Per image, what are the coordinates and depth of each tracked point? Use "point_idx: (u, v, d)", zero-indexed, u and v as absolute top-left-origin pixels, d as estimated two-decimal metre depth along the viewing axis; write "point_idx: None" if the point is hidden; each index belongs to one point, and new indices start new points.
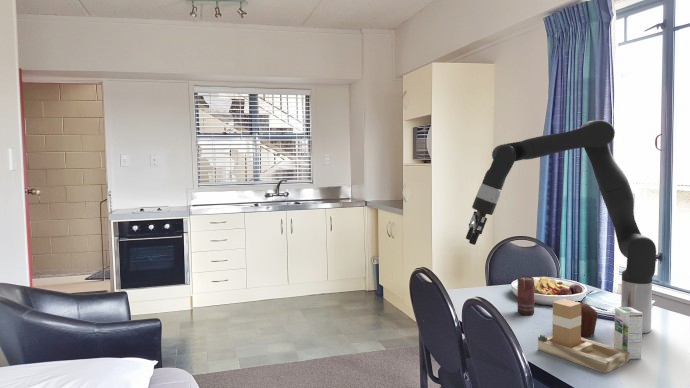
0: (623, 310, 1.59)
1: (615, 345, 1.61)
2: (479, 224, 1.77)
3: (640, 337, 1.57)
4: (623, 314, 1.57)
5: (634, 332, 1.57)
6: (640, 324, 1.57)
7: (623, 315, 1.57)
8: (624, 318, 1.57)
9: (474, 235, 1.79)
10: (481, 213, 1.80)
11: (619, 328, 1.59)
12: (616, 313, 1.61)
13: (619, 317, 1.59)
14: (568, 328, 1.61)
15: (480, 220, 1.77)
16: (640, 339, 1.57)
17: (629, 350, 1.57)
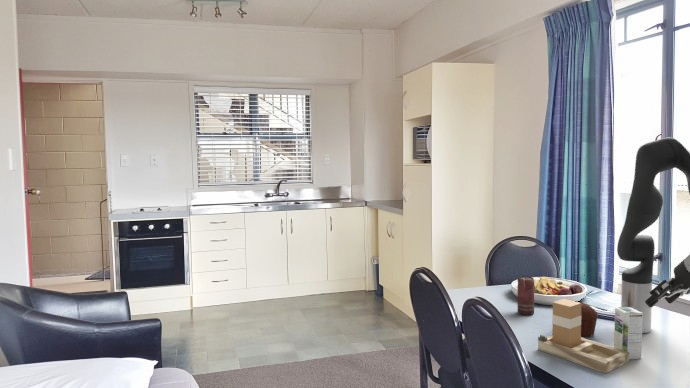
0: (623, 310, 1.59)
1: (615, 345, 1.61)
2: None
3: (640, 337, 1.57)
4: (623, 314, 1.57)
5: (634, 332, 1.57)
6: (640, 324, 1.57)
7: (623, 315, 1.57)
8: (624, 318, 1.57)
9: None
10: None
11: (619, 328, 1.59)
12: (616, 313, 1.61)
13: (619, 317, 1.59)
14: (568, 328, 1.61)
15: None
16: (640, 339, 1.57)
17: (629, 350, 1.57)
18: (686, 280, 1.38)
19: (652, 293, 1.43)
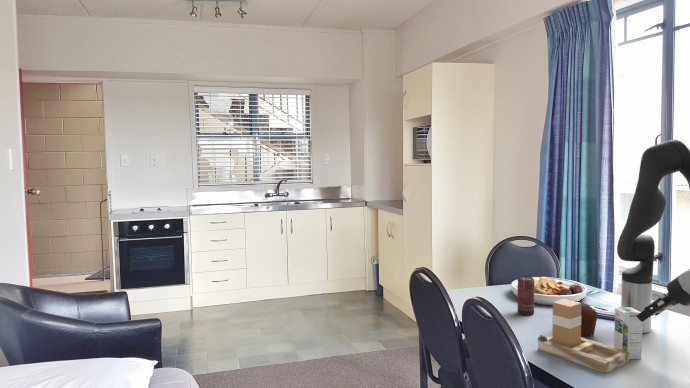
0: (623, 310, 1.59)
1: (615, 345, 1.61)
2: None
3: (640, 337, 1.57)
4: (623, 314, 1.57)
5: (634, 332, 1.57)
6: (640, 324, 1.57)
7: (623, 315, 1.57)
8: (624, 318, 1.57)
9: None
10: None
11: (619, 328, 1.59)
12: (616, 313, 1.61)
13: (619, 317, 1.59)
14: (568, 328, 1.61)
15: None
16: (640, 339, 1.57)
17: (629, 350, 1.57)
18: (680, 298, 1.43)
19: (647, 309, 1.48)
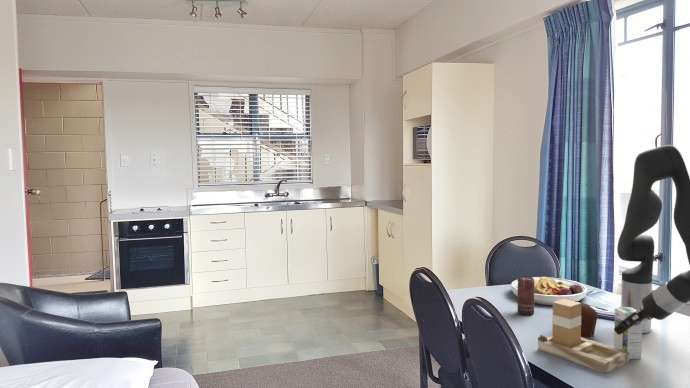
0: (623, 310, 1.59)
1: (615, 345, 1.61)
2: None
3: (640, 337, 1.57)
4: (623, 314, 1.57)
5: (634, 331, 1.57)
6: (640, 324, 1.57)
7: (623, 315, 1.57)
8: (624, 318, 1.57)
9: None
10: None
11: None
12: (616, 313, 1.61)
13: (619, 317, 1.59)
14: (568, 328, 1.61)
15: None
16: (640, 339, 1.57)
17: (629, 350, 1.57)
18: (654, 312, 1.49)
19: (622, 323, 1.54)
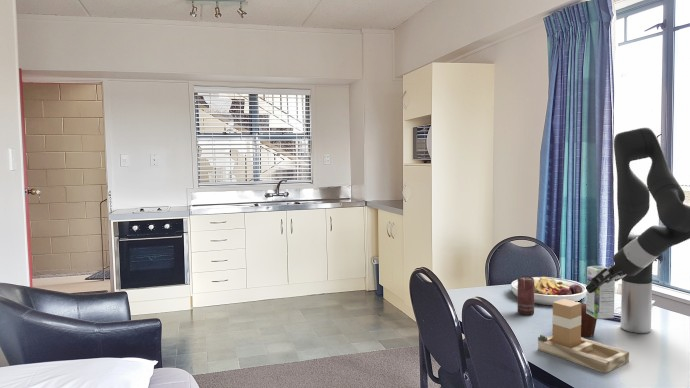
0: (595, 268, 1.54)
1: (587, 305, 1.57)
2: None
3: (612, 295, 1.52)
4: (594, 272, 1.52)
5: (606, 290, 1.52)
6: (612, 282, 1.52)
7: (595, 273, 1.52)
8: None
9: None
10: None
11: None
12: (588, 272, 1.56)
13: (591, 276, 1.54)
14: (568, 328, 1.61)
15: None
16: (612, 298, 1.52)
17: (601, 309, 1.52)
18: (625, 268, 1.45)
19: (593, 280, 1.49)
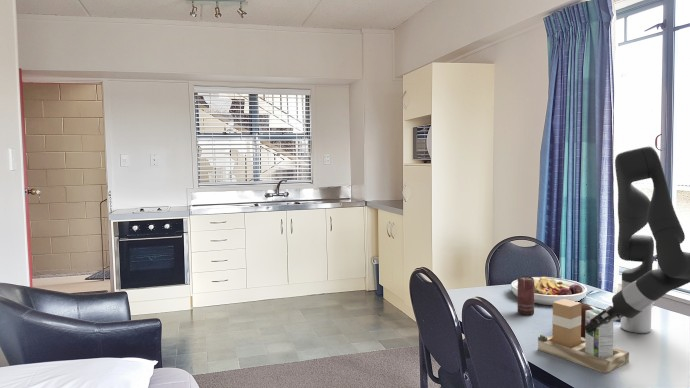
0: (593, 312, 1.55)
1: (586, 348, 1.58)
2: None
3: (611, 340, 1.54)
4: (593, 316, 1.54)
5: (605, 334, 1.53)
6: (611, 326, 1.53)
7: None
8: None
9: None
10: None
11: None
12: (587, 316, 1.57)
13: (589, 320, 1.56)
14: (568, 328, 1.61)
15: None
16: (611, 342, 1.54)
17: (600, 353, 1.54)
18: (624, 310, 1.46)
19: (592, 321, 1.50)
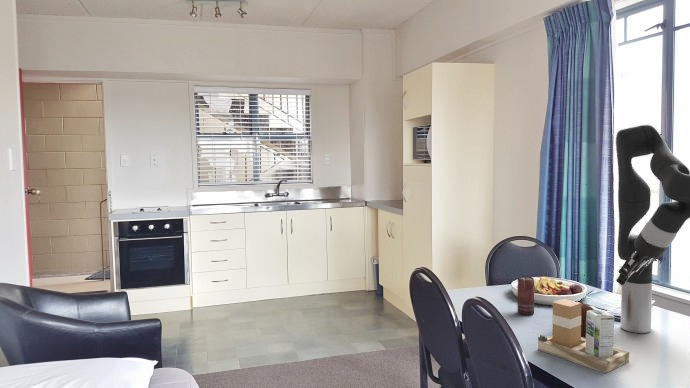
0: (594, 313, 1.55)
1: (587, 349, 1.58)
2: None
3: (612, 340, 1.54)
4: (594, 317, 1.54)
5: (605, 335, 1.53)
6: (611, 327, 1.53)
7: (595, 319, 1.53)
8: (595, 321, 1.53)
9: (643, 265, 1.52)
10: None
11: (591, 332, 1.55)
12: (588, 316, 1.57)
13: (590, 320, 1.55)
14: (568, 328, 1.61)
15: None
16: (611, 343, 1.54)
17: (600, 354, 1.53)
18: (648, 252, 1.40)
19: (621, 272, 1.45)
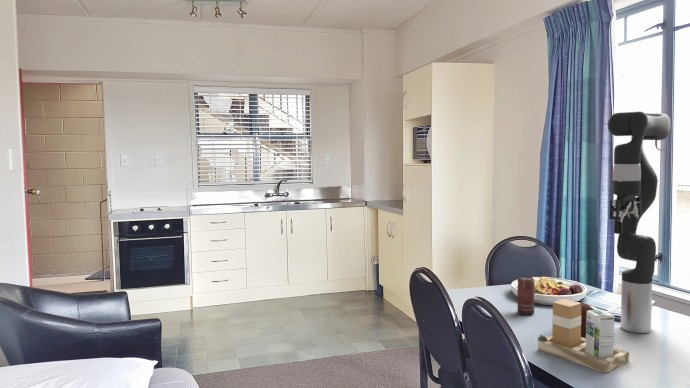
0: (594, 313, 1.55)
1: (587, 349, 1.58)
2: None
3: (612, 340, 1.54)
4: (594, 317, 1.54)
5: (605, 335, 1.53)
6: (611, 327, 1.53)
7: (595, 319, 1.53)
8: (595, 321, 1.53)
9: None
10: None
11: (591, 332, 1.55)
12: (588, 316, 1.57)
13: (590, 320, 1.55)
14: (568, 328, 1.61)
15: None
16: (611, 343, 1.54)
17: (600, 354, 1.53)
18: (625, 189, 1.54)
19: (611, 217, 1.55)
